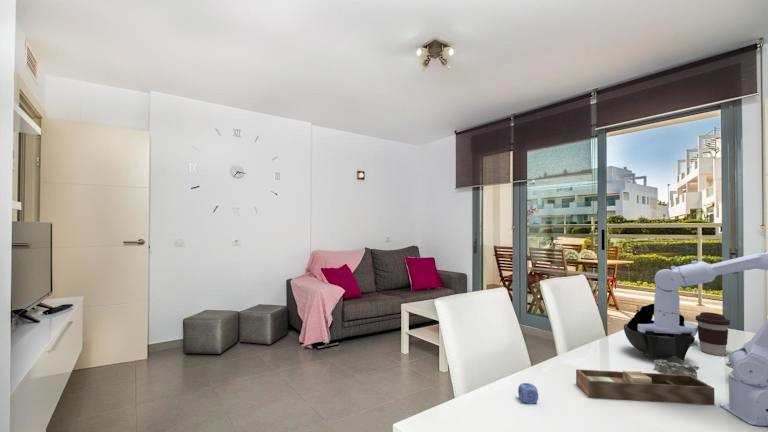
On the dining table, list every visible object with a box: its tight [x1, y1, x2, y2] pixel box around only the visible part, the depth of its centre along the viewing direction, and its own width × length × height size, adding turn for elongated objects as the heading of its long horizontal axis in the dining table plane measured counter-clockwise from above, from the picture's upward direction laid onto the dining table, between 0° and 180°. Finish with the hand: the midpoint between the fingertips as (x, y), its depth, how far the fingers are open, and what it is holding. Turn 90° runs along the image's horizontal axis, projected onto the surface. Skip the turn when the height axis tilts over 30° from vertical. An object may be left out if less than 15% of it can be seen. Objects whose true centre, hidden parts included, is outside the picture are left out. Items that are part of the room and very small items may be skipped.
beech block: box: [622, 370, 652, 384], centre depth 103 cm, size 5×5×2 cm
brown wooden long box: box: [575, 368, 715, 406], centre depth 103 cm, size 32×9×4 cm, turn 85°
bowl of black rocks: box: [623, 303, 685, 359], centre depth 134 cm, size 20×20×19 cm
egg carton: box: [653, 358, 700, 379], centre depth 118 cm, size 11×8×4 cm
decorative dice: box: [517, 382, 539, 405], centre depth 98 cm, size 4×4×4 cm
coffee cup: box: [695, 311, 731, 356], centre depth 139 cm, size 10×10×15 cm
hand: (665, 358), depth 103 cm, fingers open, 7 cm apart
